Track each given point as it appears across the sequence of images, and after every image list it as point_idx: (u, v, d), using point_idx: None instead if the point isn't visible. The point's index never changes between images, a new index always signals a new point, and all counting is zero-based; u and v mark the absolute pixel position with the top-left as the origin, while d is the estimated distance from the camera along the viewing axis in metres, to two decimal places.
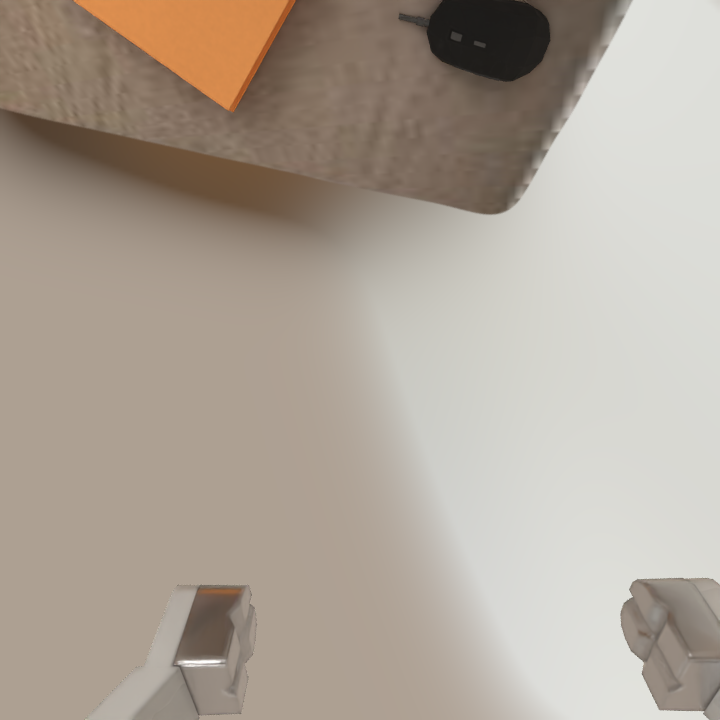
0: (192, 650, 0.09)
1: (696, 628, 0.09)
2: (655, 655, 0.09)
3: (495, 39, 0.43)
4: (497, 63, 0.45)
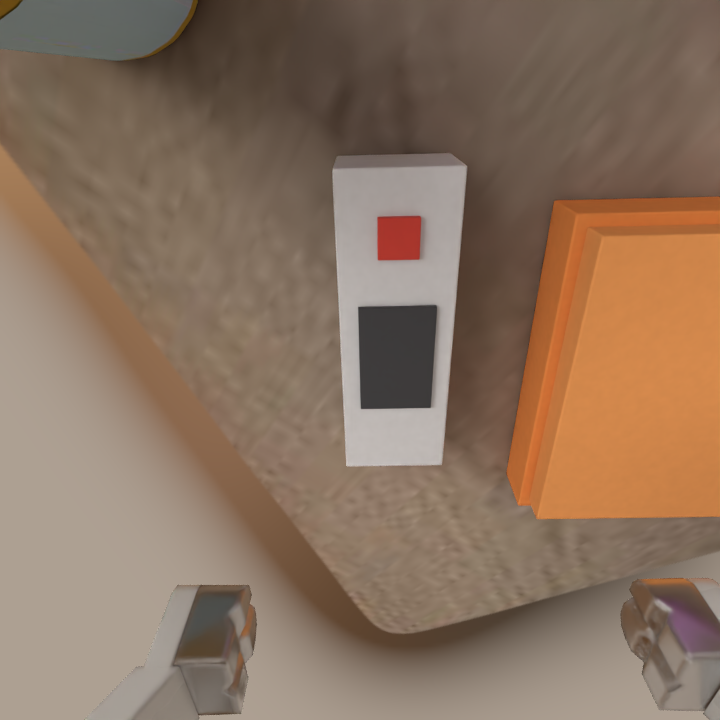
0: (192, 650, 0.09)
1: (696, 628, 0.09)
2: (655, 655, 0.09)
3: None
4: None
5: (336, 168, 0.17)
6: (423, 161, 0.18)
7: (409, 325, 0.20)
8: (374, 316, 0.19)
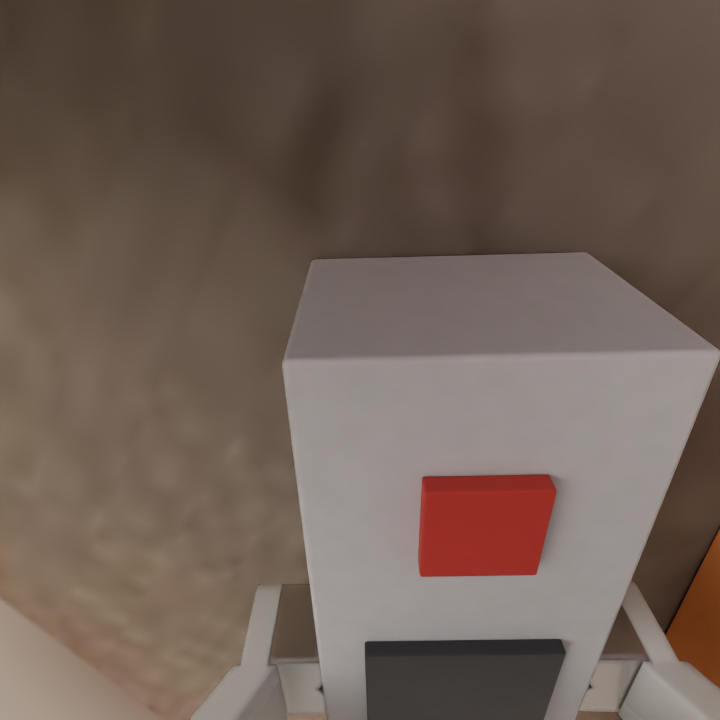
0: (286, 649, 0.09)
1: None
2: None
3: None
4: None
5: (295, 357, 0.05)
6: (553, 309, 0.06)
7: (490, 679, 0.08)
8: (405, 668, 0.08)
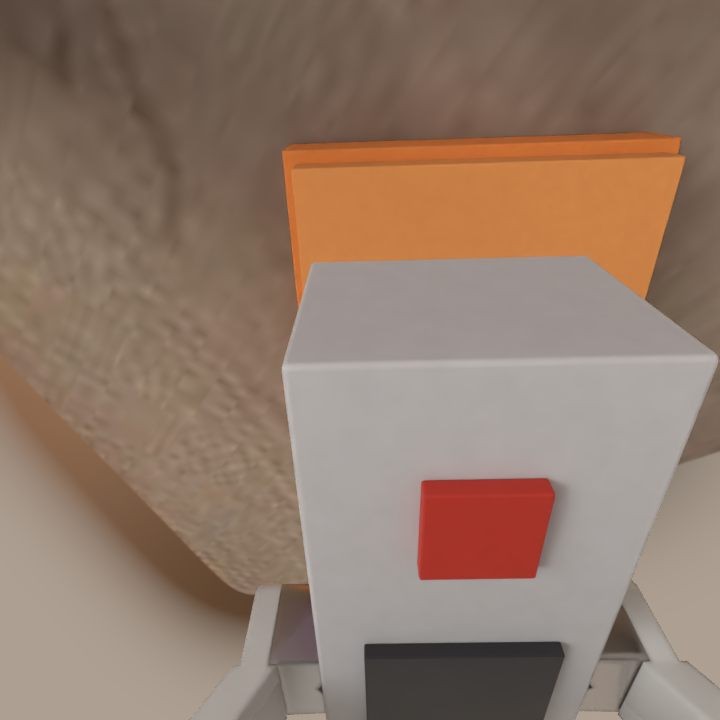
0: (286, 649, 0.09)
1: None
2: None
3: None
4: None
5: (295, 361, 0.05)
6: (552, 313, 0.06)
7: (489, 682, 0.08)
8: (404, 670, 0.08)
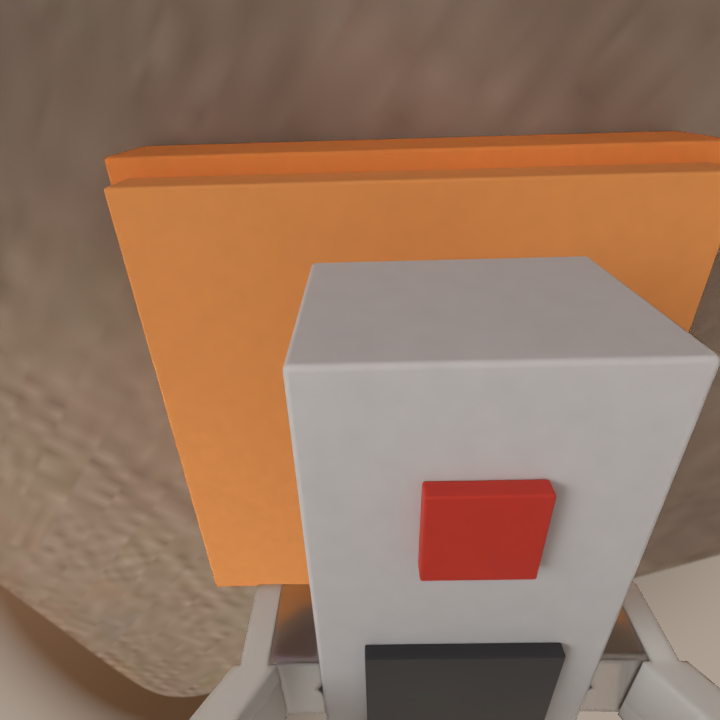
0: (286, 649, 0.09)
1: None
2: None
3: None
4: None
5: (296, 362, 0.05)
6: (553, 314, 0.06)
7: (490, 683, 0.08)
8: (405, 671, 0.08)
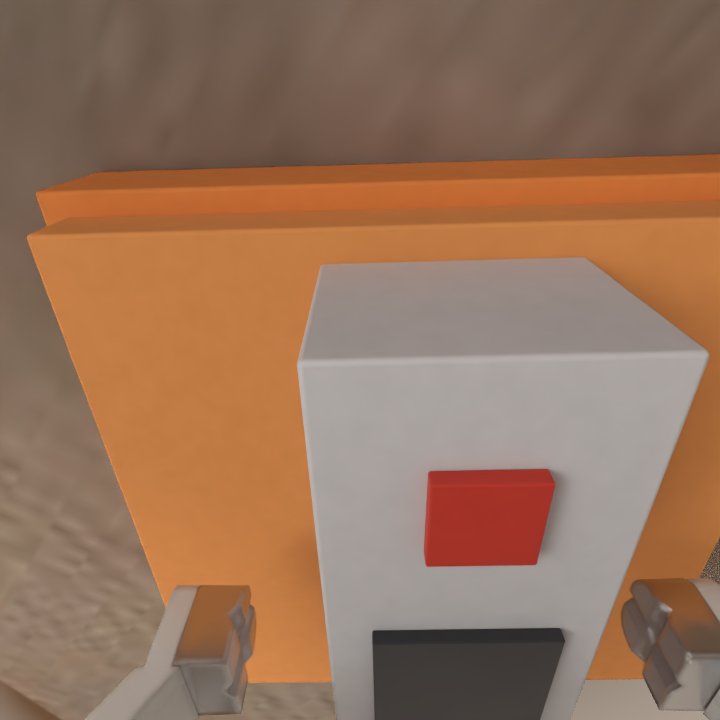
0: (192, 650, 0.09)
1: (696, 628, 0.09)
2: (655, 655, 0.09)
3: None
4: None
5: (310, 358, 0.06)
6: (552, 312, 0.06)
7: (493, 667, 0.08)
8: (411, 656, 0.08)
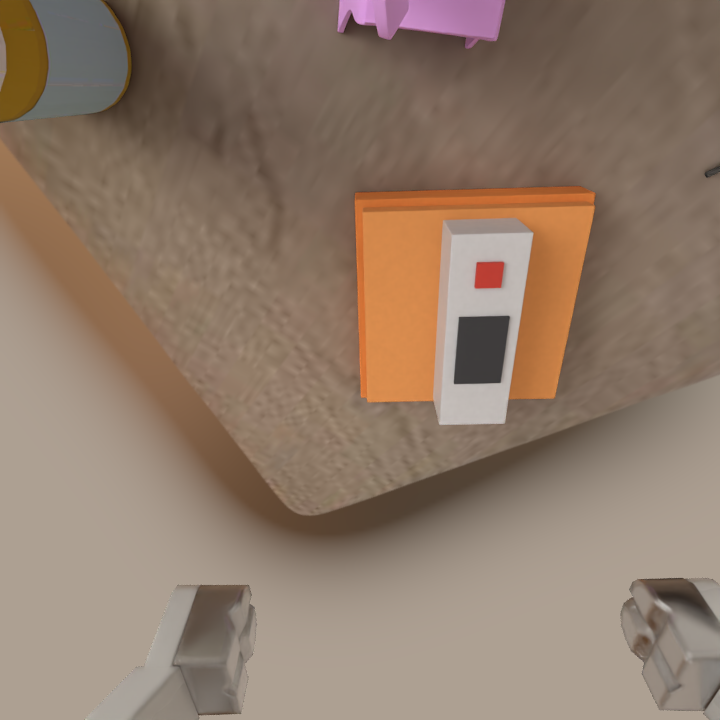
0: (192, 649, 0.09)
1: (696, 628, 0.09)
2: (655, 655, 0.09)
3: None
4: None
5: (454, 234, 0.28)
6: (504, 227, 0.29)
7: (490, 328, 0.31)
8: (469, 323, 0.30)
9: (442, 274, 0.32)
